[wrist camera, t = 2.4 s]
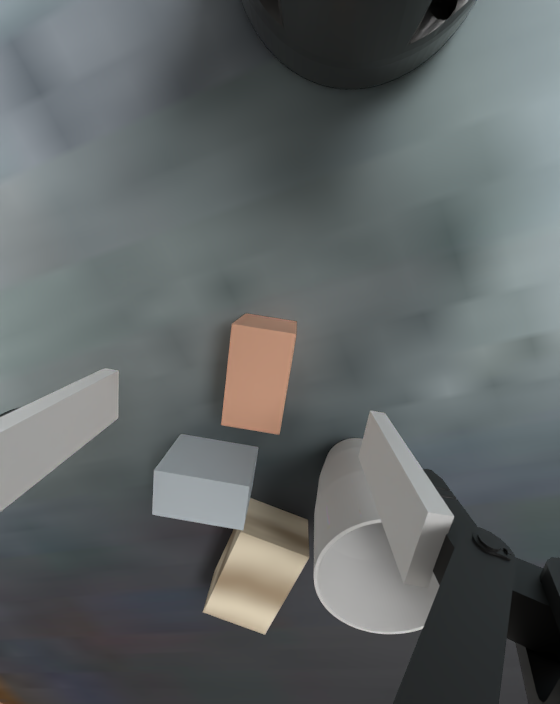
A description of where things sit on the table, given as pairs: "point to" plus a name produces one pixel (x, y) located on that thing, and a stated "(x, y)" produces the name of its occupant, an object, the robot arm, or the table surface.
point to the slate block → (205, 481)
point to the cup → (360, 553)
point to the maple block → (258, 567)
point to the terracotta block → (258, 372)
